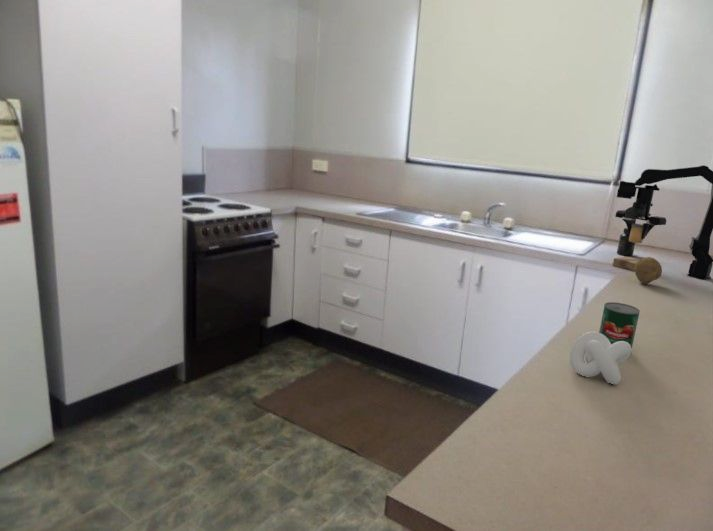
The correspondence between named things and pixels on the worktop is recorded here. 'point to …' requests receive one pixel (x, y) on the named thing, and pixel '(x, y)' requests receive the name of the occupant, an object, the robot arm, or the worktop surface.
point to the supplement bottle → (625, 244)
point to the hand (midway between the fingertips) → (636, 238)
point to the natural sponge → (647, 270)
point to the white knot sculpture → (599, 356)
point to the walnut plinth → (625, 263)
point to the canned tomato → (619, 322)
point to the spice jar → (636, 233)
